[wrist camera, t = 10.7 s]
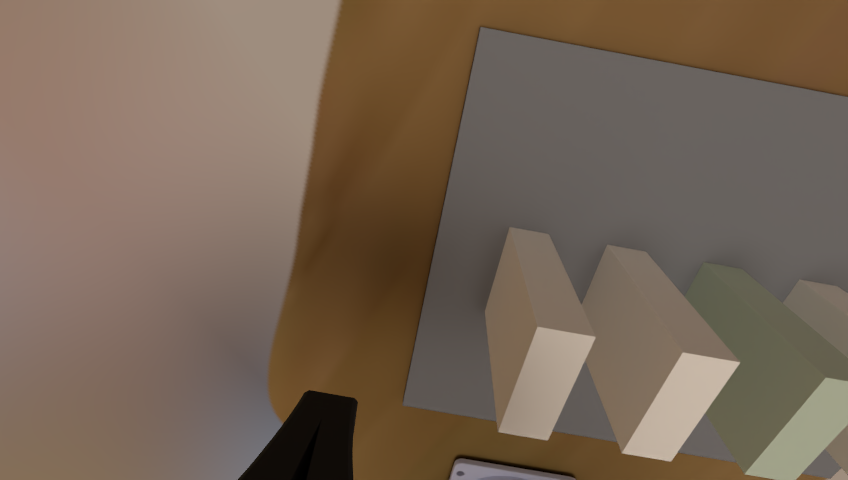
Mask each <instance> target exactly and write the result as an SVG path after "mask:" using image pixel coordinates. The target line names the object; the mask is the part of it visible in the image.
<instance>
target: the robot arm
mask: <svg viewBox="0 0 848 480" xmlns="http://www.w3.org/2000/svg"><path fill="white" fill-rule="evenodd" d="M357 404H358V402H357V401H356V399H355V398H351V397H345V396H339V395H333V394H328V393H322V392H316V391H310V390H309V391H307V392H305V393H304V394H303V396H302V398H301V399H300V401H299V402H298V404H297V405H296V407H295V408H294V410H293V411H292V413H291V414H290V416H289V417H288V418H287V420H286V421H285V422H284V424H283V425H282V427H281V428H280V429H279V430H278V432H277V433H276V435H275V436H274V437H273V438H272V440H271V441H270V442H269V443H268V444H267V446H266V447H265V448H264V449H263V451H262V452H261V453H260V454H259V456H258V457H257V458H256V459H255V461H254V462H253V463H252V464H251V465H250V466H249V468H248V469H247V470H246V471H245V472H244V473H243V474H242V475H241V477H240V478H239V479H238V480H353V462H352V447H353V433H354V426H355V419H356V411H357ZM449 480H576V479H575V478H573V477H570V476H564V475H558V474H552V473H546V472H540V471H534V470H528V469H522V468H516V467H510V466H505V465H499V464H493V463H487V462H481V461H475V460H469V459H462V458H460V459H457V460H456V461H455V462H454V465H453V468H452V471H451V474H450V477H449Z"/></svg>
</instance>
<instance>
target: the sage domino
mask: <svg viewBox="0 0 848 480" xmlns="http://www.w3.org/2000/svg"><path fill="white" fill-rule="evenodd" d="M684 297H685V298H686V299H687V300H688V302H689V303H690V304H691V305H692V306H693V307H694V309H695V310H696V311H697V312H698V313H699V314H700V316H701V317H702V318H703V319H704V320H705V322H706V323H707V324H708V325H709V326H710V327H711V329H712V330H713V331H714V332H715V333H716V334H717V336H718V337H719V338H720V339H721V340H722V341H723V343H724V344H725V345H726V346H727V347H728V348H729V350H730V351H731V352H732V353H733V354H734V356H735V357H736V358H737V359H738V360H739V361H740V364H739V365H738V367H737V368H736V369H735V371H734V372H733V374H732V375H731V377H730V378H729V379H728V381H727V382H726V384H725V385H724V387H723V388H722V389H721V391H720V392H719V394H718V395H717V397H716V398H715V399H714V401H713V402H712V404H711V405H710V407H709V408H708V409H707V411H706V412H705V414H706V416H707V417H708V419H709V420H710V422H711V423H712V425H713V426H714V428H715V429H716V431H717V433H718V434H719V436H720V437H721V439H722V440H723V442H724V443H725V445H726V446H727V448H728V449H729V451H730V453H731V454H732V456H733V457H734V459H735V460H736V462H737V463H738V465H739V466H740V468H741V469H742V471H743V473H744V474H747V475H753V476H758V477H764V478H770V479H776V480H796V479H797V478H798V477H799V476H800V475H801V473H802V472H803V471H804V470H805V469H806V468H807V467H808V466H809V465H810V464H811V463H812V462H813V461H814V460H815V459H816V458H817V456H818V455H819V454H820V453H821V452H822V451H823V450H824V449H825V448H826V447H827V446H828V445H829V444H830V443H831V442H832V441H833V440H834V438H835V437H836V436H837V435H838V434H839V433H840V432H841V431H842V430H843V429H844V428H845V427H846V426H847V425H848V358H847V357H846V356H845V355H844V354H842V353H841V352H840V351H839V350H838V349H836V348H835V347H834V346H833V345H832V344H830V343H829V342H828V341H827V340H826V339H825V338H823V337H822V336H821V335H820V334H819V333H817V332H816V331H815V330H814V329H813V328H811V327H810V326H809V325H808V324H807V323H806V322H804V321H803V320H802V319H801V318H800V317H798V316H797V315H796V314H795V313H794V312H792V311H791V310H790V309H789V308H788V307H787V306H785V305H784V304H783V303H782V302H781V301H779V300H778V299H777V298H776V297H775V296H773V295H772V294H771V293H770V292H769V291H768V290H766V289H765V288H764V287H763V286H762V285H760V284H759V283H758V282H757V281H756V280H754V279H753V278H752V277H751V276H750V275H749V274H747V273H746V272H745V271H744V270H743V269H739V268H734V267H728V266H722V265H717V264H711V263H706V262H703V264H702V266H701V268H700V269H699V271H698V273H697V275H696V277H695V278H694V280H693V282H692V284H691V286H690V287H689V289H688V291H687V293H686V295H685V296H684Z"/></svg>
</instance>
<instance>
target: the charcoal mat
mask: <svg viewBox="0 0 848 480" xmlns="http://www.w3.org/2000/svg"><path fill="white" fill-rule="evenodd" d="M510 227H513V228H518V229H524V230H529V231H535V232H540V233H546V234H549V236H550V238H551V240H552V242H553V244H554V246H555V249H556V251H557V253H558V255H559V257H560V260H561V262H562V264H563V266H564V268H565V271H566V273H567V275H568V277H569V279H570V281H571V284H572V286H573V288H574V290H575V292H576V295H577V297H578V299H579V301H580V303H581V305H582V303H583V300H584V298H585V296H586V293H587V291H588V289H589V286H590V284H591V282H592V279H593V277H594V274H595V272H596V270H597V267H598V265H599V263H600V260H601V258H602V256H603V253H604V251H605V249H606V246H607V245H612V246H618V247H623V248H629V249H634V250H640V251H645V252H647V253H648V255H649V256H650V257H651V258H652V259H653V261H654V262H655V263H656V264H657V265H658V266H659V268H660V269H661V270H662V271H663V272H664V273H665V275H666V276H667V277H668V278H669V279H670V280H671V282H672V283H673V284H674V285H675V286H676V288H677V289H678V290H679V291H680V292H681V293H682V295H683V296H685V295H686V293H687V291H688V289H689V287H690V286H691V284H692V282H693V280H694V278H695V277H696V275H697V273H698V271H699V269H700V268H701V266H702V264H703V262H706V263H711V264H717V265H722V266H728V267H734V268H739V269H743V270H744V271H745V272H746V273H747V274H749V275H750V276H751V277H752V278H753V279H754V280H756V281H757V282H758V283H759V284H760V285H762V286H763V287H764V288H765V289H766V290H768V291H769V292H770V293H771V294H772V295H773V296H775V297H776V298H777V299H778V300H779V301H781V302H782V303H783V302H784V300H785V299H786V298H787V296H788V295H789V293H790V292H791V291H792V289H793V288H794V286H795V285H796V283H797V282H798V281H799V279H800V280H805V281H811V282H816V283H822V284H827V285H833V286H838V287H839V288H841V289H842V290H843V291H845V292H846V293H848V97H845V96H840V95H834V94H829V93H824V92H819V91H813V90H808V89H803V88H798V87H792V86H787V85H782V84H777V83H771V82H766V81H761V80H756V79H751V78H745V77H740V76H735V75H730V74H724V73H719V72H714V71H709V70H703V69H698V68H693V67H688V66H682V65H677V64H672V63H667V62H662V61H656V60H651V59H646V58H641V57H635V56H630V55H625V54H620V53H614V52H609V51H604V50H599V49H593V48H588V47H583V46H578V45H573V44H567V43H562V42H557V41H552V40H546V39H541V38H536V37H531V36H525V35H520V34H515V33H510V32H504V31H499V30H494V29H489V28H484V27H480V30H479V35H478V40H477V45H476V50H475V55H474V59H473V64H472V69H471V74H470V79H469V84H468V88H467V93H466V98H465V103H464V108H463V113H462V118H461V122H460V127H459V132H458V137H457V142H456V147H455V151H454V156H453V161H452V166H451V171H450V176H449V181H448V185H447V190H446V195H445V200H444V205H443V210H442V214H441V219H440V224H439V229H438V234H437V239H436V244H435V248H434V253H433V258H432V263H431V268H430V273H429V277H428V282H427V287H426V292H425V297H424V302H423V307H422V311H421V316H420V321H419V326H418V331H417V336H416V341H415V345H414V350H413V355H412V360H411V365H410V370H409V374H408V379H407V384H406V389H405V394H404V399H403V406H409V407H415V408H421V409H427V410H433V411H438V412H444V413H450V414H456V415H462V416H468V417H474V418H479V419H485V420H491V421H497V419H496V410H495V401H494V391H493V382H492V373H491V364H490V355H489V346H488V336H487V327H486V318H485V309H486V306H487V302H488V299H489V296H490V292H491V289H492V285H493V282H494V279H495V275H496V272H497V268H498V265H499V262H500V258H501V255H502V251H503V248H504V245H505V241H506V238H507V234H508V231H509V228H510ZM552 431H555V432H561V433H567V434H573V435H579V436H585V437H591V438H596V439H602V440H608V441H614V442H617V440H616V437H615V434H614V432H613V429H612V427H611V424H610V422H609V419H608V417H607V414H606V412H605V409H604V407H603V404H602V401H601V399H600V396H599V394H598V391H597V389H596V386H595V384H594V381H593V379H592V376H591V374H590V371H589V368H588V366H587V363H586V361H585V362H584V364H583V366H582V368H581V370H580V372H579V374H578V377H577V379H576V381H575V383H574V385H573V387H572V389H571V392H570V394H569V396H568V398H567V400H566V402H565V404H564V407H563V409H562V411H561V413H560V415H559V417H558V419H557V422H556V424H555V426H554V428H553V430H552ZM678 453H684V454H690V455H696V456H702V457H708V458H713V459H719V460H725V461H731V462H736V460H735V459H734V457H733V456H732V454H731V453H730V451H729V449H728V448H727V446H726V445H725V443H724V442H723V440H722V439H721V437H720V436H719V434H718V433H717V431H716V429H715V428H714V426H713V425H712V423H711V422H710V420H709V419H708V417H707V416H706V414H704V415H703V417H702V418H701V419H700V421H699V422H698V424H697V425H696V427H695V428H694V429H693V431H692V432H691V434H690V435H689V437H688V438H687V439H686V441H685V442H684V444H683V445H682V447H681V448H680V449H679V451H678ZM840 469H841V467H840V466H839V464H838V463H837V462H836V461H835V460H834V459H833V458H832V456H831V455H830V454H829V453H828V452H827V451H826V450H825V449H824V450H823V451H822V452H821V453H820V454H819V455H818V456H817V458H816V459H815V460H814V461H813V462H812V463H811V464H810V465H809V466H808V467H807V468H806V469H805V470H804V471H803V472H802V473H801V474H807V475H813V476H819V477H824V478H832V477H833V476H834V475H835V474H836V473H837V472H838V471H839V470H840Z"/></svg>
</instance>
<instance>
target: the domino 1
mask: <svg viewBox="0 0 848 480" xmlns="http://www.w3.org/2000/svg"><path fill="white" fill-rule="evenodd" d="M485 318H486V327H487V336H488V346H489V355H490V364H491V373H492V382H493V391H494V401H495V410H496V419H497V428H498V432H501V433H506V434H512V435H518V436H524V437H530V438H536V439H542V440H547V441H548V439H549V437H550V435H551V432H552V430H553V428H554V426H555V424H556V422H557V419H558V417H559V415H560V413H561V411H562V409H563V407H564V404H565V402H566V400H567V398H568V396H569V394H570V392H571V389H572V387H573V385H574V383H575V381H576V379H577V377H578V374H579V372H580V370H581V368H582V366H583V364H584V362H585V359H586V357H587V355H588V353H589V351H590V349H591V347H592V344H593V342H594V340H595V338H596V336H595V334H594V332H593V329H592V327H591V325H590V323H589V321H588V319H587V316H586V314H585V312H584V310H583V308H582V305H581V303H580V301H579V299H578V297H577V295H576V292H575V290H574V288H573V286H572V284H571V281H570V279H569V277H568V275H567V273H566V271H565V268H564V266H563V264H562V262H561V260H560V257H559V255H558V253H557V251H556V249H555V246H554V244H553V242H552V240H551V238H550V236H549V234H546V233H540V232H535V231H529V230H524V229H518V228H513V227H510V228H509V231H508V234H507V238H506V241H505V245H504V248H503V251H502V255H501V258H500V262H499V265H498V268H497V272H496V275H495V279H494V282H493V285H492V289H491V292H490V296H489V299H488V302H487V306H486V309H485Z"/></svg>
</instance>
